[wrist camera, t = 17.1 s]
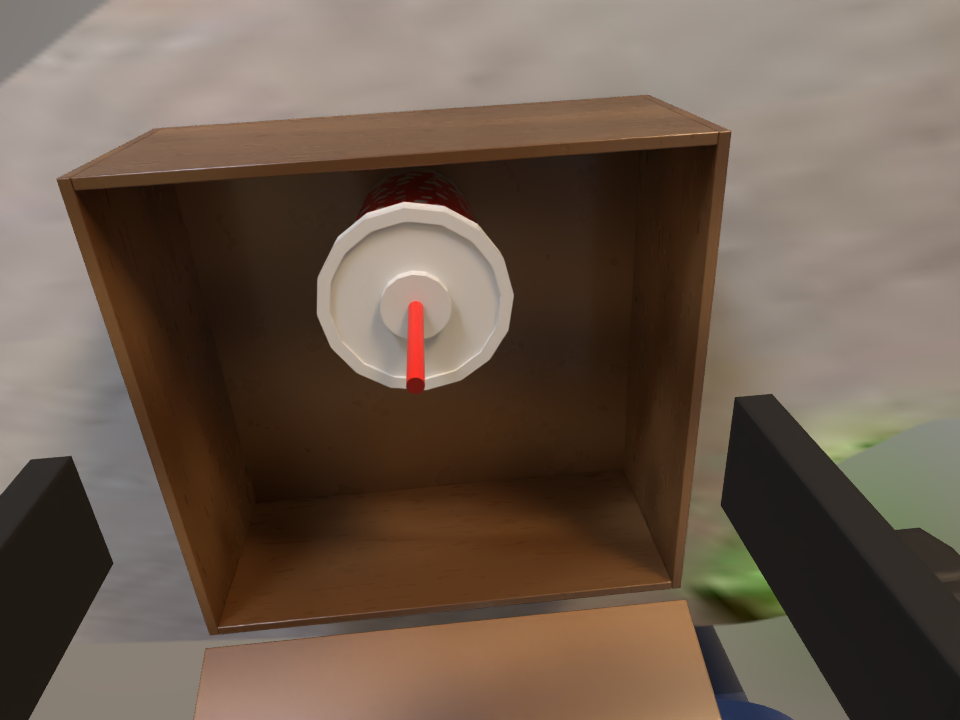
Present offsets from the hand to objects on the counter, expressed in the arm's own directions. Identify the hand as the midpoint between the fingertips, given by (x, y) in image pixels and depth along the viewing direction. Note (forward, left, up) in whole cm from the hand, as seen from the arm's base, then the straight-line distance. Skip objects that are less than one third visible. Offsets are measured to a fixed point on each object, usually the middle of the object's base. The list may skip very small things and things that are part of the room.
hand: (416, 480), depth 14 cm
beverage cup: (0, 0, -18) cm, 18 cm away
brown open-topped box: (-5, 0, -18) cm, 19 cm away
